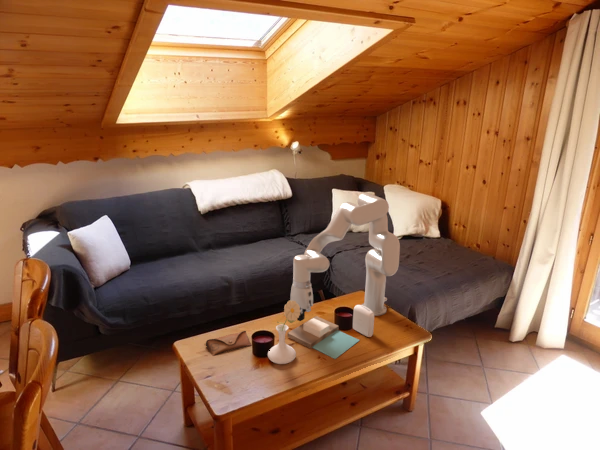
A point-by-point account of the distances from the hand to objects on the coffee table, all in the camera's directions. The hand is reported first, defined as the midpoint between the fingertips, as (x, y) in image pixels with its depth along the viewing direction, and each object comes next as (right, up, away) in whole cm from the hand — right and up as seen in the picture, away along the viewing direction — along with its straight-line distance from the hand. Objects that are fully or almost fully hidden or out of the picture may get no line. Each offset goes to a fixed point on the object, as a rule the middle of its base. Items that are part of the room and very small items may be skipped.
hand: (300, 319), depth 185 cm
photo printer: (+28, -5, -1) cm, 28 cm away
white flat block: (+7, -4, -5) cm, 9 cm away
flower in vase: (-7, -11, -21) cm, 25 cm away
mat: (+15, -8, -11) cm, 20 cm away
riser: (+6, -5, -4) cm, 8 cm away
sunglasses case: (-30, -8, -14) cm, 34 cm away
